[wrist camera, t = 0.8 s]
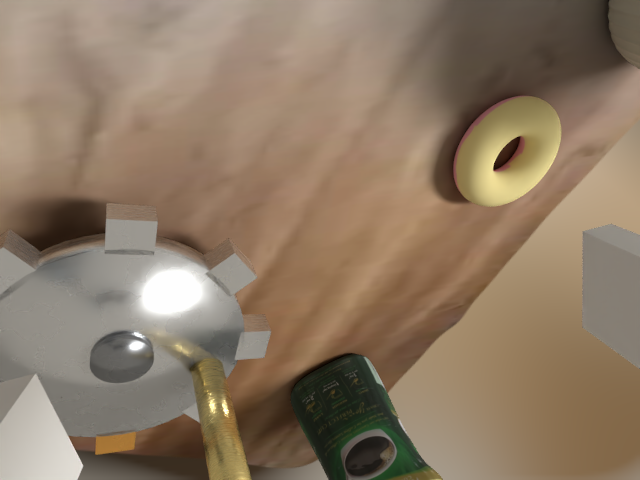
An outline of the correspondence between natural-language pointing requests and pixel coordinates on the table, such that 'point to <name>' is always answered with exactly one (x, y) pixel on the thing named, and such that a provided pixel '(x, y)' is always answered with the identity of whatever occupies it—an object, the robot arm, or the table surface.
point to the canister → (626, 28)
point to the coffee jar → (355, 424)
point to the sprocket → (131, 332)
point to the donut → (491, 137)
